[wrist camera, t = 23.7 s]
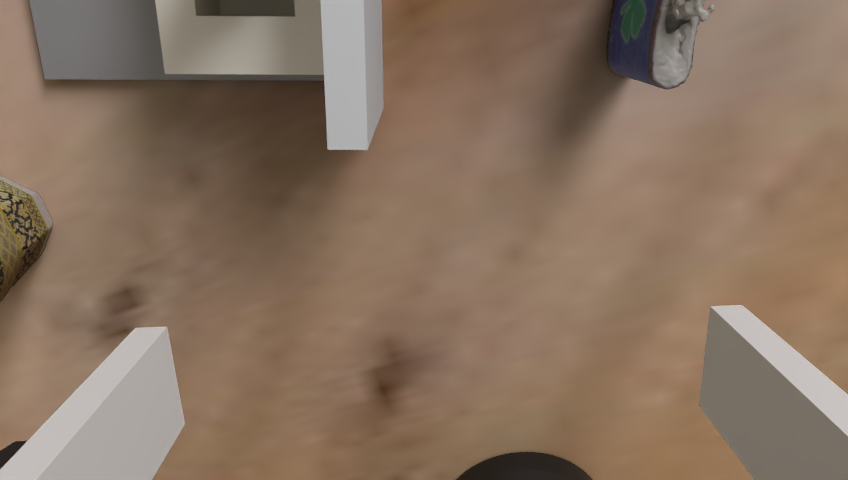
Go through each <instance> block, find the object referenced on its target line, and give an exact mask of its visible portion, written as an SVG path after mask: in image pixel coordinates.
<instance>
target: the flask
mask: <svg viewBox="0 0 848 480" xmlns="http://www.w3.org/2000/svg"><path fill="white" fill-rule="evenodd" d="M704 2H705V0H613V8H612V11H611V19H610V24H609V32H608V37H607V42H608V43H607V49H606V50H607V61H608V63H609V67H610V68H611V69H612V71H613V72H614V73H615V74H617V75H620V76H625V77H628V78H631V79H634V80H638V81H642V82H645V83H648V84H651V85H654V86H656V87H659V88H663V89H671V88H675V87H678V86H679V85H680V84H682V83H684V82H685V81H686V79H687V77H688V76H689V73H690V70H691V68H692V61H693V51H694V42H695V35H696V33H697V26H698V25H699V21H701V22H702V21H705V20H707V18H708V17H709V15H710V13H711V12H712V11H713V10H714V5H713V4H711V5H710V7H709V8H708V9H703V6H704Z"/></svg>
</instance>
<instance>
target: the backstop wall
mask: <svg viewBox="0 0 848 480" xmlns="http://www.w3.org/2000/svg"><path fill="white" fill-rule="evenodd" d="M320 1H321V22H322V43H323V64H324V75H263V74H165V71H164V64H163V56H162V49H161V41H160V33H159V26H158V18H157V11H156V3H155V0H29V2H30V7H31V12H32V17H33V22H34V27H35V32H36V37H37V42H38V48H39V53H40V58H41V63H42V68H43V73H44V78H45V79H89V80H273V81H324V85H325V106H326V127H327V148H328V150H368V147H369V145H370V142H371V140H372V137H373V134H374V132H375V129H376V127H377V124H378V121H379V119H380V116H381V114H382V111H383V50H382V0H320Z"/></svg>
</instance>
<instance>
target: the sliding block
mask: <svg viewBox="0 0 848 480" xmlns="http://www.w3.org/2000/svg"><path fill="white" fill-rule="evenodd" d="M155 3H156V11H157V18H158V26H159V33H160V41H161V49H162V56H163V64H164V71H165V74H263V75H324V64H323V43H322V22H321V1H320V0H155Z"/></svg>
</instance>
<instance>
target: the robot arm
mask: <svg viewBox="0 0 848 480" xmlns="http://www.w3.org/2000/svg"><path fill="white" fill-rule="evenodd" d="M699 406H700V407H701V409H702V410H703V412H704V413H705V414H706V416H707V417H708V418H709V420H710V421H711V422H712V424H713V425H714V426H715V428H716V429H717V430H718V432H719V433H720V434H721V436H722V437H723V438H724V440H725V441H726V442H727V444H728V445H729V446H730V448H731V449H732V450H733V452H734V453H735V454H736V456H737V457H738V458H739V460H740V461H741V462H742V464H743V465H744V466H745V468H746V469H747V470H748V472H749V473H750V474H751V476H752V477H753V478H754V480H848V394H846V393H845V392H844V391H843V390H842V389H840V388H839V387H838V386H837V385H836V384H835V383H833V382H832V381H831V380H830V379H829V378H828V377H826V376H825V375H824V374H823V373H822V372H820V371H819V370H818V369H817V368H816V367H815V366H813V365H812V364H811V363H810V362H809V361H807V360H806V359H805V358H804V357H803V356H802V355H800V354H799V353H798V352H797V351H796V350H795V349H793V348H792V347H791V346H790V345H789V344H787V343H786V342H785V341H784V340H783V339H782V338H780V337H779V336H778V335H777V334H776V333H774V332H773V331H772V330H771V329H770V328H769V327H767V326H766V325H765V324H764V323H763V322H762V321H760V320H759V319H758V318H757V317H756V316H754V315H753V314H752V313H751V312H750V311H749V310H747V309H746V308H745V307H744V306H743V305H732V306H710V314H709V322H708V331H707V340H706V348H705V357H704V366H703V374H702V383H701V391H700V400H699ZM184 425H185V422H184V416H183V411H182V405H181V400H180V394H179V389H178V384H177V378H176V373H175V367H174V362H173V356H172V351H171V345H170V340H169V335H168V329H167V327H144V328H135V329H134V330H133V331H132V332H131V333H130V334H129V335H128V336H127V337H126V338H125V339H124V340H123V341H122V342H121V344H120V345H119V346H118V347H117V348H116V349H115V350H114V351H113V352H112V353H111V354H110V355H109V356H108V357H107V358H106V359H105V360H104V361H103V362H102V363H101V364H100V366H99V367H98V368H97V369H96V370H95V371H94V372H93V373H92V374H91V375H90V376H89V377H88V378H87V379H86V380H85V381H84V382H83V383H82V384H81V385H80V386H79V388H78V389H77V390H76V391H75V392H74V393H73V394H72V395H71V396H70V397H69V398H68V399H67V400H66V401H65V402H64V403H63V404H62V405H61V406H60V407H59V408H58V410H57V411H56V412H55V413H54V414H53V415H52V416H51V417H50V418H49V419H48V420H47V421H46V422H45V423H44V424H43V425H42V426H41V427H40V428H39V429H38V430H37V432H36V433H35V434H34V435H33V436H32V437H31V438H30V439H29V440H28V441H15V442H14V443H12V444H11V445H9V446H7V447H6V448H4V449H3V450H1V451H0V480H152V479H153V477H154V475H155V474H156V472H157V470H158V469H159V467H160V465H161V464H162V462H163V460H164V459H165V457H166V455H167V454H168V452H169V450H170V449H171V447H172V445H173V443H174V442H175V440H176V438H177V437H178V435H179V433H180V432H181V430H182V428H183V427H184ZM457 480H592V478H591V477H590V476H589V475H588V474H587V473H586V472H584V471H583V470H582V469H581V468H579V467H578V466H576V465H575V464H573V463H571V462H569V461H567V460H565V459H562V458H559V457H556V456H553V455H549V454H543V453H535V452H518V453H510V454H505V455H500V456H497V457H494V458H491V459H488V460H486V461H483V462H481V463H479V464H477V465H476V466H474V467H472V468H471V469H469V470H468V471H466V472H465V473H464V474H463V475H462V476H460V477H459V478H458V479H457Z"/></svg>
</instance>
